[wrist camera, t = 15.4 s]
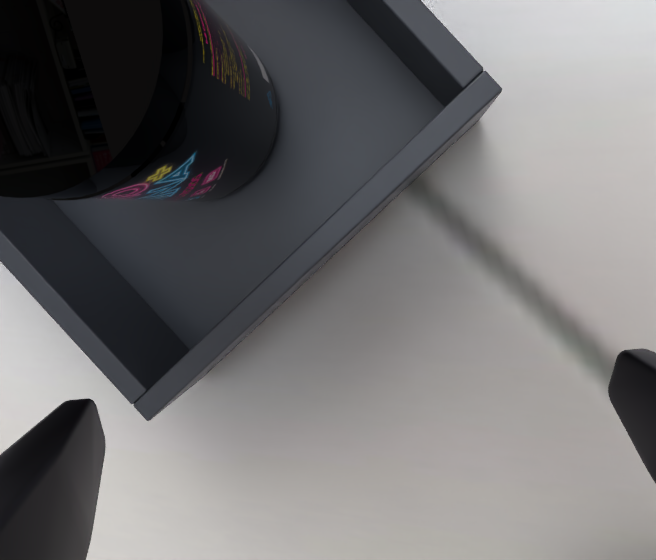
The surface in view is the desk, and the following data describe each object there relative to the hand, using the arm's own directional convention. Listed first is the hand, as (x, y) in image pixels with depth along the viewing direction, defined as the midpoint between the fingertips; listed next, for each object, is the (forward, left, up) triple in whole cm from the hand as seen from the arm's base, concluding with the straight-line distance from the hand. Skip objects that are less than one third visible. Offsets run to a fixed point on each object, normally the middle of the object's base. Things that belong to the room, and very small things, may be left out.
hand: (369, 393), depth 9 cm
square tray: (+10, +1, -13) cm, 16 cm away
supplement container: (+10, +1, -12) cm, 16 cm away
